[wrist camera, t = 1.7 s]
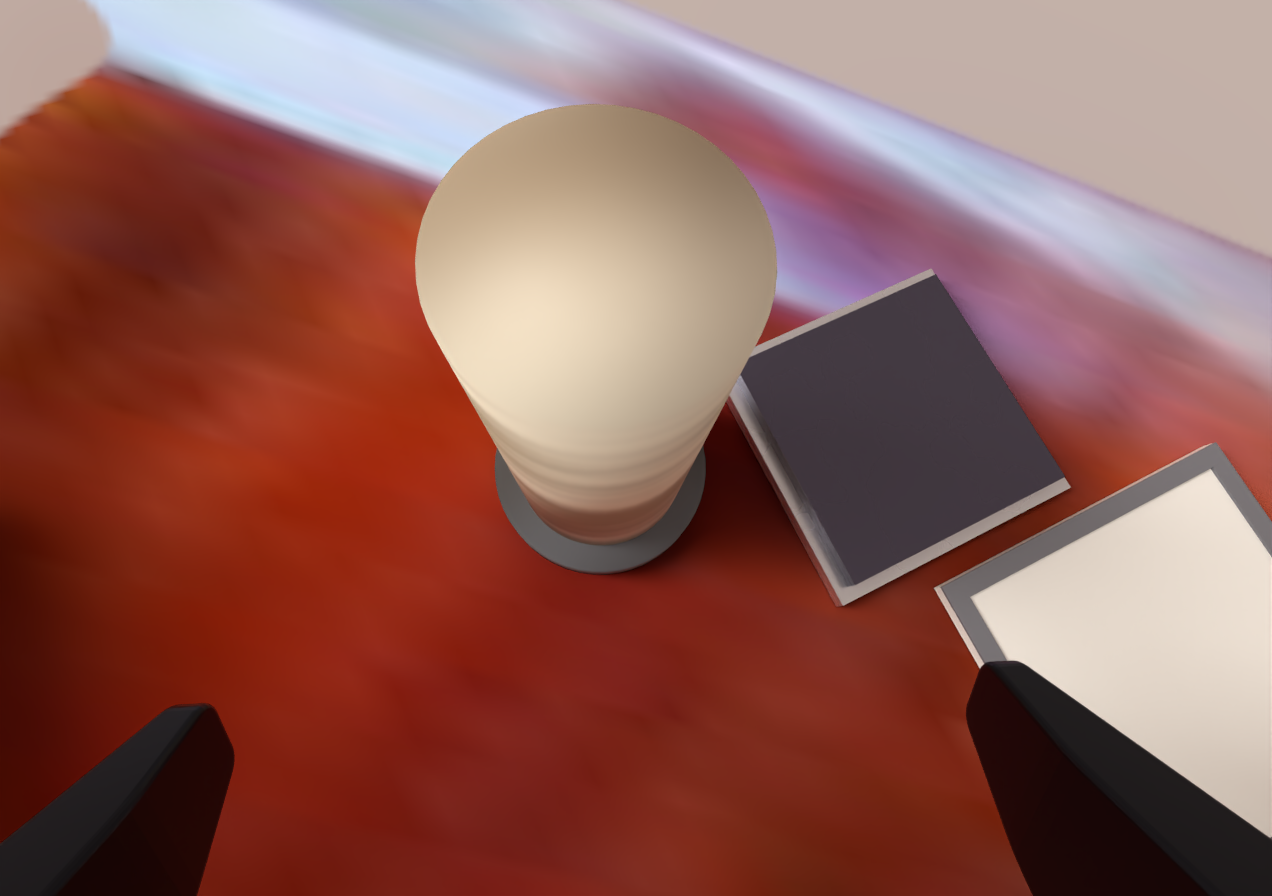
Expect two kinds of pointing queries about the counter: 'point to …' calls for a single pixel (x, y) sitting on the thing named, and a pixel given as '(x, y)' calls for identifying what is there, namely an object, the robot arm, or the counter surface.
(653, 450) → the stamp
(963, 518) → the ink pad
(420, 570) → the counter surface
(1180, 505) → the marked board
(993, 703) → the robot arm
